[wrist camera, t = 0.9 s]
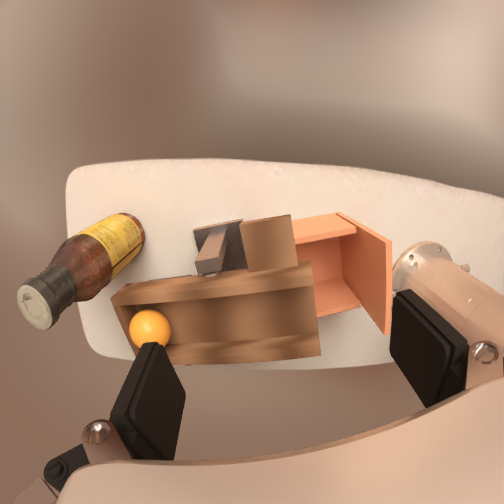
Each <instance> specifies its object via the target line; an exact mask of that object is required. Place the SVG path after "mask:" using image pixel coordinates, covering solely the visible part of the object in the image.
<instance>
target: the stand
mask: <svg viewBox="0 0 504 504" xmlns="http://www.w3.org/2000/svg"><path fill="white" fill-rule="evenodd" d="M241 222H243V220H242V219H238V220H233V221H228V222H223V223H219V224H214V225H209V226H204V227H199V228H195V229H194V230H193V232H194V236H195V240H196V244H197V247H198V251H199V254H198V256H197V258H196V260H195V265H196V268H197V272H198V275H199V274H205V273H210V272H215V271H219V272H226V271H233V270H241V269H248V265H247V260H246V255H245V251H244V246H243V241H242V237H241V232H240V227H239V225H240V223H241Z"/></svg>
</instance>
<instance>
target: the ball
mask: <svg viewBox="0 0 504 504" xmlns="http://www.w3.org/2000/svg"><path fill="white" fill-rule="evenodd" d="M129 334H130V337H131V339H132V341H133V343H134V344H135V345H136V346H137V347H138V348H141V346H142V344H143V343H146V342H155V341H156V342H158V343H159V345H160V344H161V345H163V346H165V345H166V344H167V343H168V341H169V339H170V335H171V328H170V324H169V322H168V320H167V318H166V317H165V316H164V315H163V314H162V313H160V312H158V311H156V310H152V309H146V310H142V311H140V312H138V313H137V314H135V315H134V317H133V318H132V320H131V322H130V325H129Z"/></svg>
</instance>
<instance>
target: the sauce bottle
mask: <svg viewBox="0 0 504 504" xmlns="http://www.w3.org/2000/svg"><path fill="white" fill-rule="evenodd" d="M144 238H145V237H144V230H143V228H142V226H141V223H140V222H139V221H138V219H136V218H135V217H134V216H132V215H130V214H127V213H119V214H115V215H111V216H109V217H107V218H105V219H103V220H101V221H99V222H98V223H96V224H94V225H92V226H90V227H88V228H87V229H85V230H83V231H81V232H80V233H78V234H76V235H74V236H72V237H71V238H69V239H68V240H66V241H65V242H64V243H63V244H62V245H61V246H60V248H59V250H58V251H57V253H56V254H55V256H54V258H53V259H52V261H51V263H50V264H49V266H48V268H46V270H45V271H43V272H42V273H40V274H39V275H38V276H36V277H35V278H30V279H28V280H27V281H25V283H24V284H22V285H21V286H20V288H19V290H18V294H17V301H18V305H19V308H20V310H21V312H22V313H23V315H24V317H25V318H26V319H27V320H28V321H29V322H30V324H32V326H34V327H36V328H37V329H40V330H47V329H49V328H51V327H52V326H53V325H54V324H55V323H56V322H57V321H58V319H59V316H60V314H61V313H62V312H63V311H64V310H65V309H66V308H67V307H68V306H70V305H71V304H72V303H73V302H81V301H88V300H90V299H92V298H94V297H95V296H96V295H97V294H98V293H99V292H100V291H101V289H103V288H104V287H105V286H107V285H108V284H109V283H110V282H111V281H112V279H113V278H114V277H115V276H116V275H117V274H118V273H119V272H120V271H121V270H122V269H123V268H124V267H125V266H126V265H127V264H128V263H129V262H130V261H131V260H132V259H133V258H134V257H135V256H136V255H137V254H138V253H139V251H140V249H141V247H142V245H143V242H144Z"/></svg>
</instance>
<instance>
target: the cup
mask: <svg viewBox="0 0 504 504" xmlns="http://www.w3.org/2000/svg"><path fill="white" fill-rule="evenodd" d="M292 227H293V233H294V239H295V246H296V252H297V259H298V261H304V260H310V263H311V268H312V273H313V280H314V285H313V288H314V296H315V306H316V315H317V317H321V316H325V315H330V314H334V313H338V312H343V311H347V310H351V309H355V308H359V307H360V303H361V305H362V306H363V307H364V309H365V310H366V311H367V313H368V314H369V315H370V317H371V318H372V319H373V321H374V322H375V323H376V325H377V326H378V327H379V329H380V330H381V332H382V333H383V334H384V335H388V334H390V324H391V307H392V241H390V240H388V239H387V238H385V237H383V236H381V235H380V234H378V233H376V232H375V231H373V230H371V229H369V228H368V227H366V226H364V225H362V224H360V223H359V222H357V221H355V220H353V219H351V218H350V217H348V216H346V215H344V214H342V213H340V212H337V213H331V214H326V215H320V216H315V217H309V218H304V219H298V220H293V221H292Z"/></svg>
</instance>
